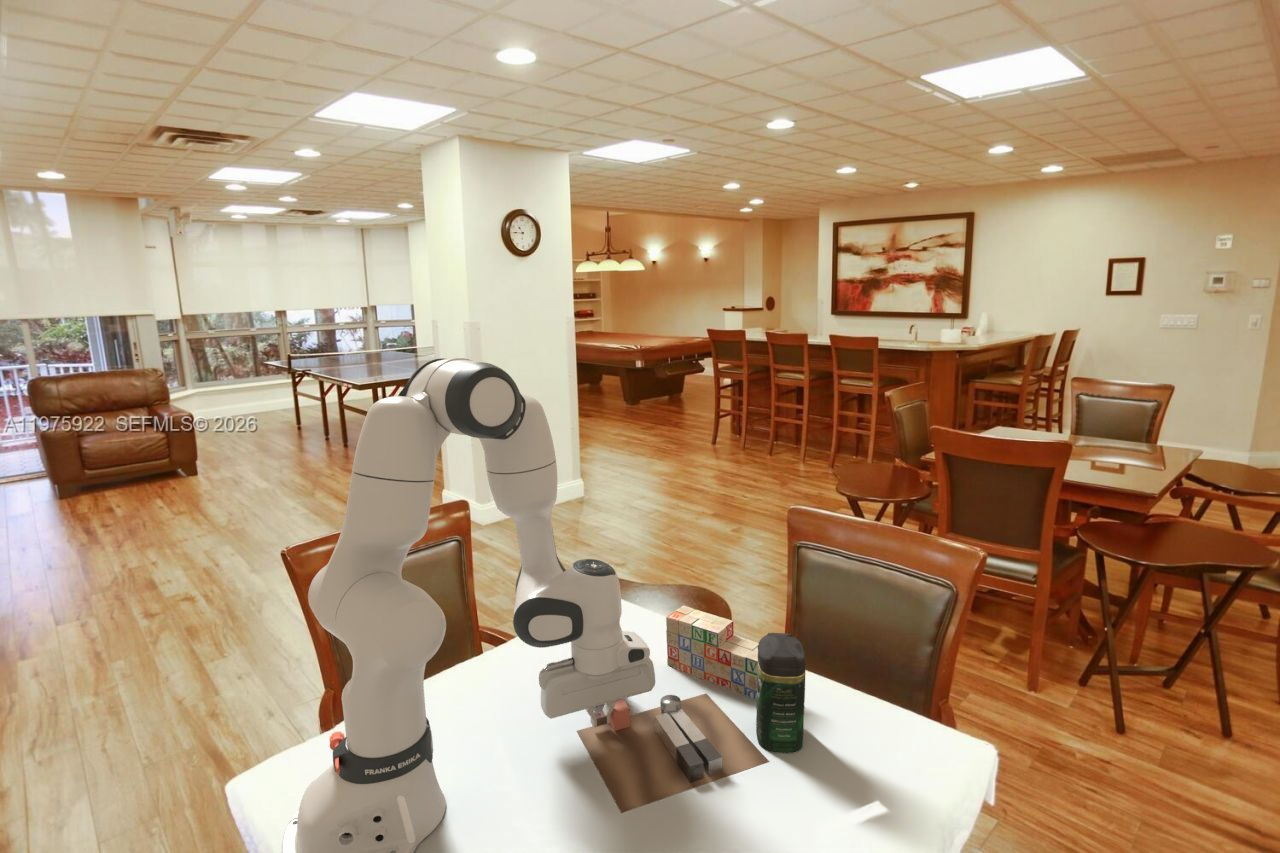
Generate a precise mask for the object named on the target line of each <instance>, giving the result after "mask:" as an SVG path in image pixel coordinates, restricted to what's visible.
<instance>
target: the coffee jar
mask: <svg viewBox="0 0 1280 853" xmlns="http://www.w3.org/2000/svg"><path fill="white" fill-rule="evenodd" d="M758 643H759V645H758V675H757V700H756V722H755V723H756V724H755V725H756V726H755V731H756V739H757V743H758V744H759V746H760V748H761V749H763V750H764V751H767V752H770V753H776V754H795V753H798V752H799V751H800V750H802V749H803V746H804V726H805V724H804V723H805V722H804V720H805V719H804V718H805V702H806V700H805V699H806V697H805V696H806V654H805V653H806V652H805V650H804V647H803V644H802V642H800V640H799V639H797V638H796V637H795V636H793V634H791V633H786V632H785V633H784V632H768V633H767V634H765V635H764V636H763V637H761V639H760V640H759V641H758Z"/></svg>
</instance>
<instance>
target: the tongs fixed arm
mask: <svg viewBox="0 0 1280 853" xmlns="http://www.w3.org/2000/svg"><path fill="white" fill-rule="evenodd" d="M670 717H671V718H672V720H673V721H674V722H675V724H676V725H677V727H678V728H679V729H680V731H681V732H682V734H683V735H684V736H685V738H686V739H687V740H688V742H689V743H690V744H691V745H692V747H693V748H694V750H695V751H696V752H697V754H698V755H699V757H700V758H701V759H702V761H703V762H704V772H705V773H706V774H707V776H708V777H711V776H714V775H717V774H720V773H722V756H721V755H720V754H719V753H718V751H717V750H716V749H715V748H714V747H713V745H712V744H711V743H710V742H709V741H708V739H707V738H706V737H705V736H704V735H703V734H702V733H701V731H700V730H699V729H698V728H697V727H696V725H695V724H694V723H693V722H692V721H691V719H690V718H689V717H688V716H687V715H686V713H685V712H684V711H683V710H682V709H680V710H676V711H673V712H670Z"/></svg>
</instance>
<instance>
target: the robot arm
mask: <svg viewBox="0 0 1280 853" xmlns="http://www.w3.org/2000/svg"><path fill="white" fill-rule="evenodd" d="M360 430H361V431H360V433H359V437H358V439H357V440H358V441H357V443H356V444H357V445H356V447H355V453H354V457H353V463H352V468H351V477H350V482H349V488H348V489H349V490H348V495H347V503H346V507H345V513H344V520H343V524H342V527H341V530H340V534H339V538H338V540H337V542H336V544H335V547H334V550H333V551H332V554H331V555H330V558H329V561H328V563H327V564H326V565H325V566H323V567H322V568H321V569H320V570H319V571H318V572H317V573H316V574H315V576H314V577H313V579H312V580H311V583H310V585H309V589H308V593H307V599H308V605H309V608H310V609H311V612H312V613H313V615H314V617H315V619H316V620H317V622H318V623H319V625H320V626H321V627H322V628H323V629H324V630H326V631H327V632H329V633H330V634H331V635H333V636H334V637H336V638H337V639H339V641H341V642H343V643H344V644H345V646H346V647H347V649H348V651H349V653H350V655H351V659H352V673H351V678H350V679H349V680H348V681H347V682H346V684H345V686H344V688H343V689H342V693H341V704H342V713H343V722H344V728H345V733H343V732H342V731H339V730H338V731H334V732H333V733H331V735H330V737H329V748H330V749H331V751H332V761H333V762H332V765H331V766H330V767H328V768H327V769H326V770H325V771H324V772H322V773H321V774H320V775H319V776H318V777H316V779H314V780H313V781H311V782H310V784H308V786H307V787H306V790H304V794H303V795H302V798H301V800H300V801H301V802H300V805H299V807H298V810H296V812H295V813H294V814H293V816H292V817H291V818H290V820H289V821H288V823H287V826H286V828H285V831H284V834H283V837H282V845H281V853H414V852H415V850H416V848H417V847H418V845H419V844H420V843H421V842H422V841H423V840H424V839H426V838H427V837H428V836H430V834H431V833H432V832H433V831H434V830H435V829H436V828H437V827H438V826H439V824H440V822H441V821H442V819H443V817H444V815H445V812H446V809H447V808H446V807H447V803H446V801H447V800H446V798H445V795H444V793H443V791H442V788H441V786H440V784H439V782H438V779H437V774H436V772H435V768H434V763H433V758H434V755H433V753H434V745H433V744H434V743H433V735H432V727H431V724H430V721H429V719H428V718H427V713H426V700H425V687H424V681H425V680H424V679H425V678H424V677H425V669H426V666H427V663H428V662H429V661H430V660H431V659H432V658H433V657H434V656H435V655H436V653H437V652H438V651H439V649H440V647H441V646H442V643H443V641H444V638H445V636H446V632H447V631H446V630H447V620H446V616H445V614H444V613H445V612H444V611H443V610H442V608H441V606H440V605H439V604H438V603H437V602H436V601H435V600H434V599H433V598H432V596H430V595H429V593H428V592H426V591H425V590H424V589H423V588H421V587H419V586H417V585H416V584H413V583H411V582H410V581H407V580H406V579H403V576H402V571H403V570H402V569H403V566H404V563H405V560H406V558H407V557H408V556H407V555H408V553H409V551H410V550H411V547H413V545H415V543H417V542H419V541H420V540H421V539H423V537H424V536H425V535H426V533H427V530H428V528H429V527H428V526H429V520H430V513H431V506H432V500H433V493H434V486H435V478H436V469H437V459H438V456H439V453H440V449H441V447H442V446H443V444H444V442H445V441H446V439H447V438H448V437H449V436H450V435H451V434H456V435H460V436H468V437H472V438H476V439H478V440H479V441H480V443H481V447H482V449H483V451H484V453H483V454H484V462H485V468H486V475H487V480H488V485H489V488H490V491H491V495H492V497H493V500H494V503H495V506H496V508H497V510H499V512H501V514H504V515H506V516H507V517H509V518H510V519H512V521H513V524H514V526H515V531H516V537H517V542H518V548H519V555H520V562H521V564H520V565H521V566H520V569H519V572H518V575H517V578H516V582H515V600H514V607H513V608H514V610H513V619H512V624H513V630H514V632H515V635H517V637H518V638H519V639H520V640H521V642H523V643H525V644H526V645H528V646H531V647H534V648H541V649H542V648H550V647H555V646H559V645H564V644H568V643H570V650H571V657H570V658H564V659H562V660H560V661H554V662H553V661H552V662H549V663H547V664H546V666H545V667H543V668H542V669H541V670H540V671H539V674H538V681H539V682H538V683H539V687H540V707H541V710H542V712H543V714H544V715H545V716H546V717H547V718H549V719H551V720H552V719H556V718H559V717H562V716H565V715H570V714H572V713H577V712H580V711H583V710H584V711H585V710H586V712H587V714H588V715H589V717H590V724H591V727H592V726H593V727H594V728H595V727H598V726H601V725H605V724H608V723H610V717H609V715H610V714H611V712H612V710H613V709H614V707H615V702H616V701H620V700H624V699H628V698H630V697H634V696H637V695H642V694H644V693H649V692H651V691H652V690H653V689H654V688H655V686H656V672H655V667H654V663H653V660H652V659H651V658H650V655H651V654H650V653H651V650H650V647H649V646H648V644H647V643H646V641H645V640H644V639H643V638H642V637H641V636H640V635H639V634H637V633H636V632H634V631H629V630H628V631H627V630H626V631H625V630H622V627H621V623H620V622H621V617H622V612H623V610H622V595H621V585H620V581H619V576H618V574H617V572H616V570H615V569H614V567H613V566H611V565H610V564H609V563H607V562H605V561H603V560H600V559H595V558H594V559H593V558H583V559H579V560H576V561H575V562H573V563H572V564H571V566H570V567H568V568H565V567H564V565H563V564H562V562H561V560H560V559H559V557H558V553H557V549H556V545H555V544H556V542H555V536H554V529H553V522H552V511H553V507H554V505H555V503H556V502H557V498H558V496H557V494H558V465H557V458H556V450H555V447H554V442H553V440H554V439H553V436H552V433H551V428H550V425H549V421H548V418H547V416H546V413H545V410H544V408H543V406H542V404H541V403H540V402H539V401H538V400H537V399H536V398H534V397H532V396H530V395H525V394H521V392H520V390H519V387H518V386H517V384H516V382H515V380H514V379H513V378H512V376H510V374H509V373H508V372H506V371H505V370H503V368H501V367H499V366H497V365H494V364H492V363H488V362H484V361H482V362H480V361H475V360H471V359H469V358H465V357H463V358H462V357H461V358H460V357H454V358H443V357H442V358H435V359H431V360H429V361H426V362H424V363H422V364H421V365H420V366H419V367H417V369H416V370H415V371H414V372H413V373H412V375H410V377H409V379H408V381H407V383H406V384H405V386H403V388H402V390H401V391H400V392H399V394H398V395H395V396H389V397H384V398H381V399H379V400H377V401H375V402H374V403H373V404H372V405H371V406H370V407H369V409H368V411H367V413H366V416H365V419H364V421H363V424H362V426H361V429H360ZM602 705H604V706H603V708H602V710H600V711H597V712H595V711H596V707H598V706H602Z"/></svg>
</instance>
